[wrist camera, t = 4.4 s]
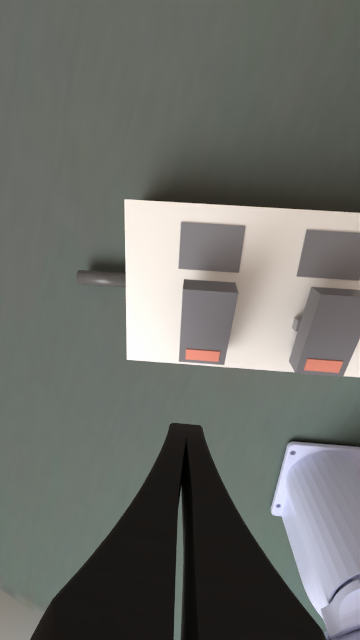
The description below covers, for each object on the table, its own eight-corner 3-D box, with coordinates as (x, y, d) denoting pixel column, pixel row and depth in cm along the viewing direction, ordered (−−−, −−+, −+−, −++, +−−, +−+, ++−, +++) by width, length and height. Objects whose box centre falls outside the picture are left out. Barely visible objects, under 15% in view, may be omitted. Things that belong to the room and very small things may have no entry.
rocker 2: (333, 364, 16) (343, 377, 15) (288, 361, 16) (295, 373, 15) (363, 290, 13) (378, 298, 12) (311, 286, 14) (321, 294, 12)
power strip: (437, 361, 20) (496, 392, 16) (89, 335, 20) (65, 359, 17) (497, 227, 16) (592, 224, 12) (80, 202, 17) (47, 193, 13)
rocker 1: (222, 352, 16) (224, 366, 15) (180, 348, 16) (178, 362, 15) (235, 282, 13) (238, 293, 12) (183, 278, 13) (182, 289, 12)
